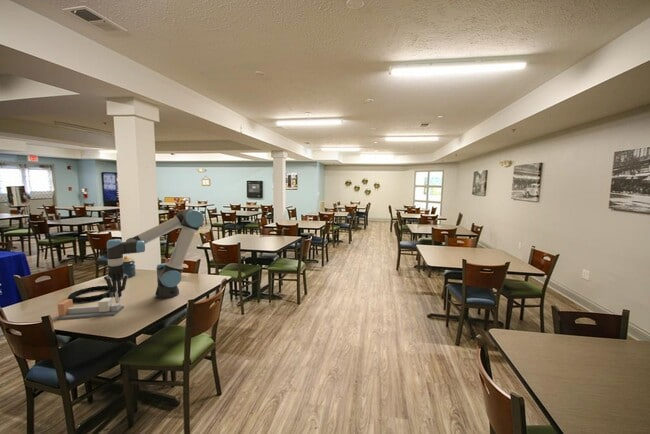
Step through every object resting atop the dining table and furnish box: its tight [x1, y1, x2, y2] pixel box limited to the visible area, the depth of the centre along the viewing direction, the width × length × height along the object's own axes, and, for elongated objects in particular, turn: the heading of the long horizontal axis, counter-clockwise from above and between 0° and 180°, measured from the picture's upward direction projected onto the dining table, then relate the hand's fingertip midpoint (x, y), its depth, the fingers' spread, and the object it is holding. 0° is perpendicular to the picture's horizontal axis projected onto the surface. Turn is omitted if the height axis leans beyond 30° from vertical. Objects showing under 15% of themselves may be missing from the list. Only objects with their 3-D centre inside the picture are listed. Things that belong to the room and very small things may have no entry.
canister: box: [121, 256, 137, 279], centre depth 253 cm, size 13×13×18 cm
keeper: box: [97, 297, 114, 312], centre depth 180 cm, size 5×6×6 cm
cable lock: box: [67, 285, 115, 304], centre depth 208 cm, size 28×4×30 cm
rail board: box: [56, 298, 125, 321], centre depth 179 cm, size 30×12×8 cm, turn 101°
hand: (118, 302), depth 181 cm, fingers closed
